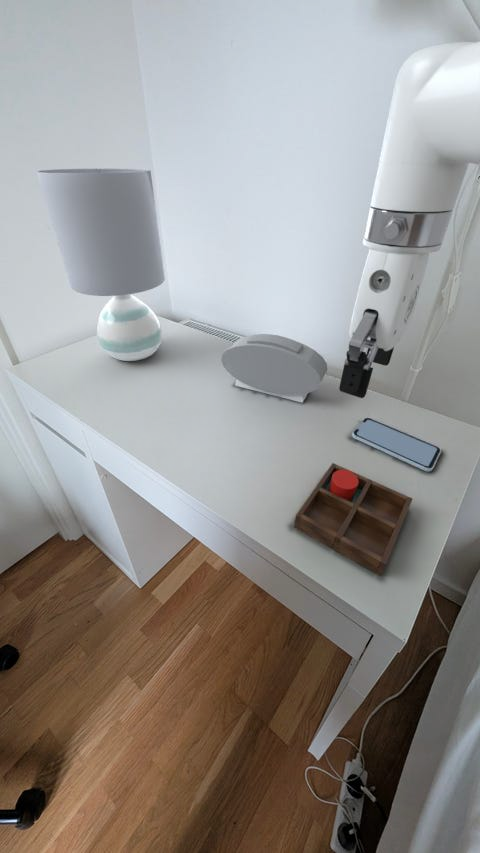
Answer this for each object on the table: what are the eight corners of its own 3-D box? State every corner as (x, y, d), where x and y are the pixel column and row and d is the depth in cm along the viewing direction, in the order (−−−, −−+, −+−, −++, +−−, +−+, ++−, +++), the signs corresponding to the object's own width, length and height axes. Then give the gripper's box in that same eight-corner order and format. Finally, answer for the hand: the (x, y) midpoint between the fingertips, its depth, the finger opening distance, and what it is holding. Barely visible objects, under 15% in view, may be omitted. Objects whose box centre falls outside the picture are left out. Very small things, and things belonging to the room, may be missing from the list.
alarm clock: (323, 393, 78) (332, 342, 70) (316, 407, 74) (325, 354, 66) (233, 372, 86) (232, 323, 78) (221, 383, 81) (220, 333, 73)
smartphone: (431, 471, 58) (350, 434, 65) (429, 474, 59) (349, 437, 66) (442, 448, 63) (366, 415, 70) (440, 451, 63) (364, 419, 70)
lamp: (89, 377, 83) (22, 173, 58) (97, 340, 100) (48, 168, 74) (177, 368, 87) (151, 172, 61) (171, 333, 103) (149, 167, 78)
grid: (406, 511, 53) (412, 498, 51) (379, 576, 45) (386, 564, 43) (329, 475, 59) (332, 462, 57) (293, 527, 50) (296, 514, 48)
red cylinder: (357, 491, 55) (362, 476, 53) (348, 507, 52) (353, 493, 50) (334, 480, 57) (338, 465, 54) (324, 495, 54) (327, 481, 52)
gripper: (424, 250, 27) (372, 419, 38) (459, 221, 38) (410, 359, 49) (335, 239, 30) (310, 398, 41) (391, 216, 41) (360, 346, 52)
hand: (365, 376), depth 45 cm, fingers open, 9 cm apart
